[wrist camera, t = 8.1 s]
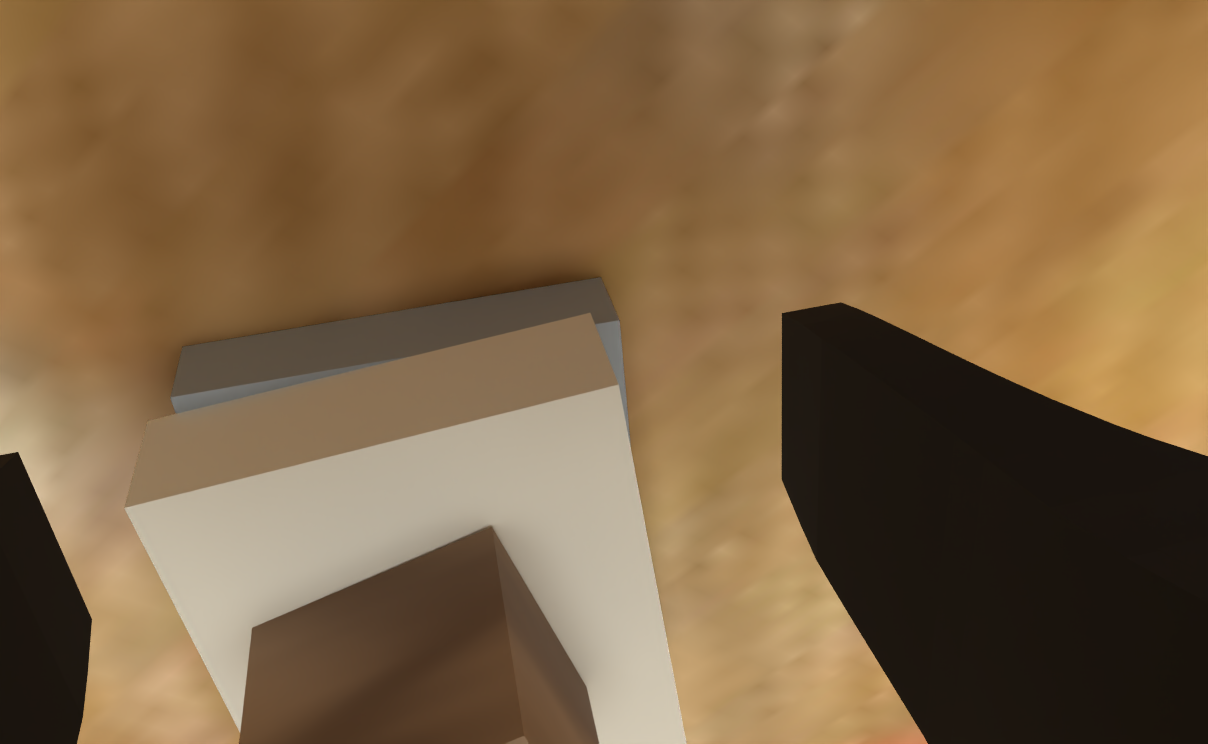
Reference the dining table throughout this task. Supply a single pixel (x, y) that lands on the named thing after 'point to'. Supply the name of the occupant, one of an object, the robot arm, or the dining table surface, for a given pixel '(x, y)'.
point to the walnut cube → (418, 661)
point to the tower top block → (419, 504)
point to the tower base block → (383, 342)
